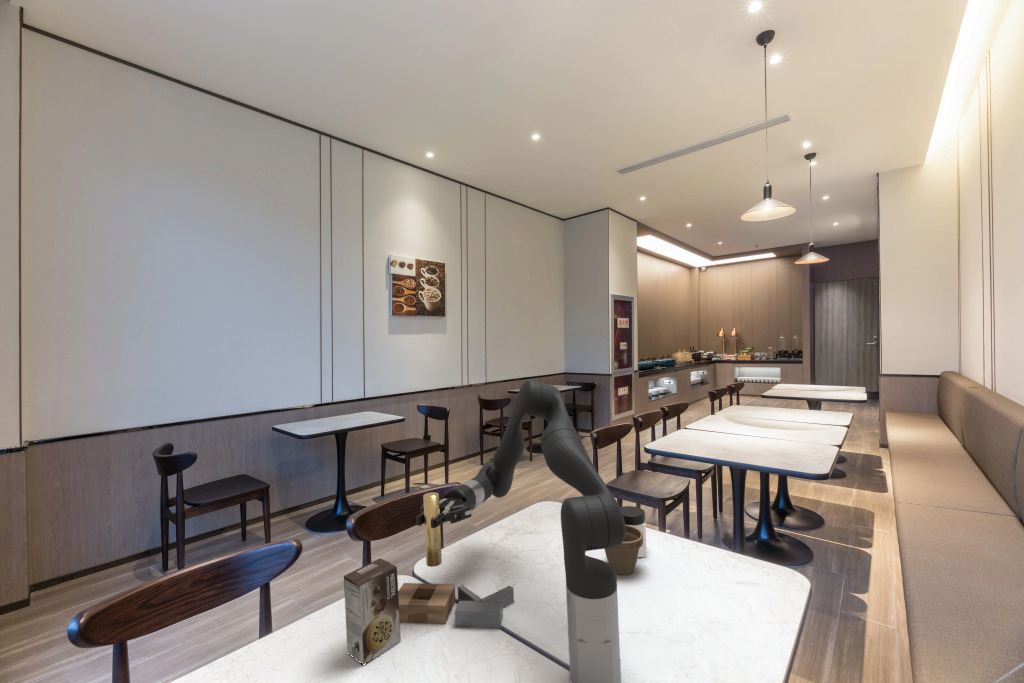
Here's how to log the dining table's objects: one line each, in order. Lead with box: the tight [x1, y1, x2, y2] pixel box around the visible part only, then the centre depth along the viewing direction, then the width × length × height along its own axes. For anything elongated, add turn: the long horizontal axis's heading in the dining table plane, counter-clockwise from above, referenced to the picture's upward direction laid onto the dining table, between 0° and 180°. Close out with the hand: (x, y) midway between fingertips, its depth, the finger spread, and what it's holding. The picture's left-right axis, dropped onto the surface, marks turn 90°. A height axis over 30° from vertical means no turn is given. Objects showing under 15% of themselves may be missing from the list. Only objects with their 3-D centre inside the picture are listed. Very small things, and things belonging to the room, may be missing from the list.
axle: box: [422, 491, 443, 568], centre depth 104 cm, size 4×4×16 cm
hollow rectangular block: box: [398, 582, 457, 625], centre depth 104 cm, size 9×13×4 cm
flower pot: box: [604, 525, 643, 576], centre depth 119 cm, size 12×11×10 cm
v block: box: [454, 584, 515, 630], centre depth 103 cm, size 11×14×4 cm
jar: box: [619, 505, 648, 559], centre depth 129 cm, size 9×8×12 cm
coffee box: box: [343, 558, 402, 664], centre depth 92 cm, size 9×6×16 cm
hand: (425, 522), depth 102 cm, fingers closed on axle, 3 cm apart
